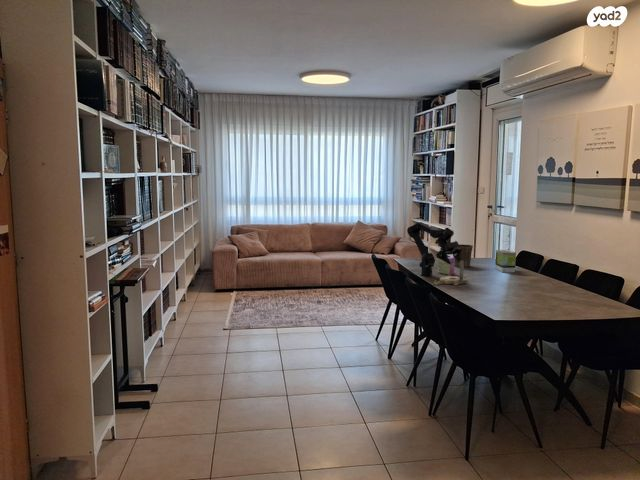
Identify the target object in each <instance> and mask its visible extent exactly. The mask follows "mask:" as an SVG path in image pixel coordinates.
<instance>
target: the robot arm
mask: <svg viewBox="0 0 640 480" xmlns="http://www.w3.org/2000/svg"><path fill="white" fill-rule="evenodd" d="M421 231H423V232H424V233H425V232H426V233H427V234H429V236H430V237H432V239H435V243H434V244H435V245H437V244H438V246H439V247H440V248H439V250H438V252H437V253H436V254H435V256H434V254H433V253H432V252H431V253H429V251H428V249H427V247H426V245H425V243H424V242H423V239H422V238H421ZM406 233H407V234H408V236H409V237H411V239H412V240H414V243H415V245H416V246H417V249H418V250H419V253H420V254H421V261H420V263H419V267H420V268H421V274H420V277H421V276H422V277H431V276H433V269H432V268H433V267H434V265H435V263H436V259H435V257H436V258H437V259H438V258H439V259H441V260H443V261H445V262H446V263H448V264H451V263H450V261H449V259H448V257H449V256H450V255H451V256H452V257H453V256H455V257H454V258H455V259H456V260H457V261H458V262H459V263H460V261H461V257H460V254H461V253H462V249H461V248H458V249H455V251H453V250H454V248H455V247H457V246H458V245H459V244H460V243H459V242H458V241H457V240H455V241H451V242H448V241H450V239H451V238H452V237H453V236H454V234H455V232H454V231H453V230H452V229H450V228H449V227H444V230H443V229H440V228H435V227H432V226H430V225H428V224H425V222H416V223H415V224H413V225H410V226H409V227H407V229H406Z"/></svg>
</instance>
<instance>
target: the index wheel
mask: <svg viewBox="0 0 640 480" xmlns="http://www.w3.org/2000/svg"><path fill="white" fill-rule="evenodd" d="M464 270H465V267H464V261H460V267H459V276H452V275H446V276H437V277H436V278H435V279H436V280H435V281H441V284H440V285H442V284H447V285H453V286H458V285H462V284H467V285H468V284H469V283H470V281H469V279H466V276H464V272H465V271H464Z"/></svg>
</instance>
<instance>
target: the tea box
mask: <svg viewBox="0 0 640 480" xmlns="http://www.w3.org/2000/svg"><path fill="white" fill-rule="evenodd" d="M516 260H517V252H515V251H513V250H510V249H496V250H495V265H494V269H496V270H497V271H498V272H501V273H515V272H516V263H517V262H516Z"/></svg>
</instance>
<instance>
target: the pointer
mask: <svg viewBox="0 0 640 480" xmlns="http://www.w3.org/2000/svg"><path fill="white" fill-rule="evenodd" d="M433 282H434V285H436V286H437V285H438V286H439V285H442V284H441V281H438V280H434V281H433Z"/></svg>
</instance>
